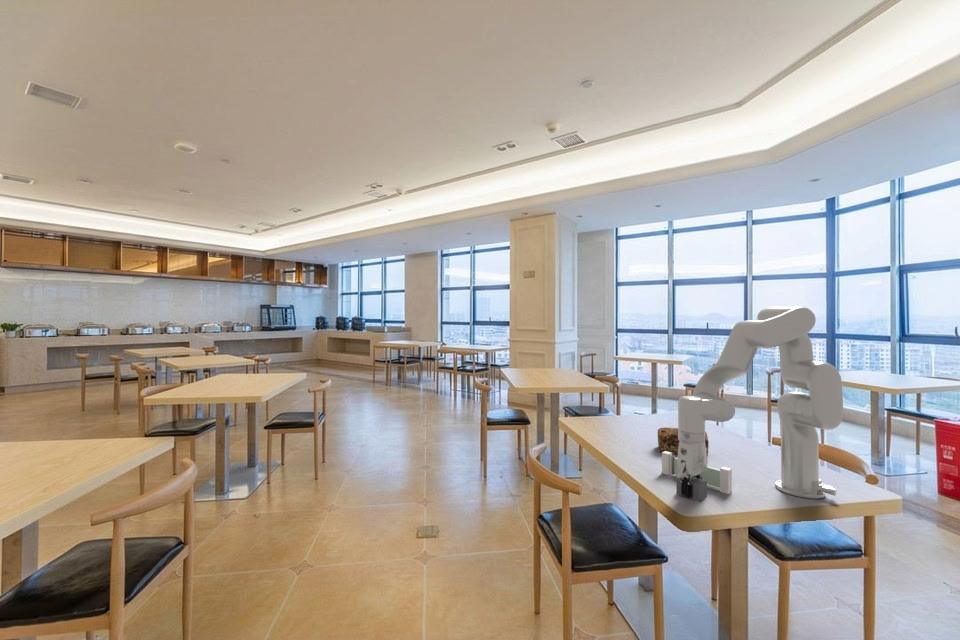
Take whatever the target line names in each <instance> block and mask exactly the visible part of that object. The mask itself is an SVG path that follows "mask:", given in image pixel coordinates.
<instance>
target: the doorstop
mask: <svg viewBox="0 0 960 640" xmlns="http://www.w3.org/2000/svg"><path fill="white" fill-rule="evenodd" d="M685 477H687V479H688V476H687V475H685ZM691 485H692V498H691V499H693V500H695V501H697V502H700V501H702V500H704V499H705V498H708V487H707V481H706V480H703V479H699V478H696V477H693V476H692V481H691ZM677 494H678V495H681V496H682V497H685V496H684V495H682V494H681V480H680V478H679V477H677V478H676V495H677Z"/></svg>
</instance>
